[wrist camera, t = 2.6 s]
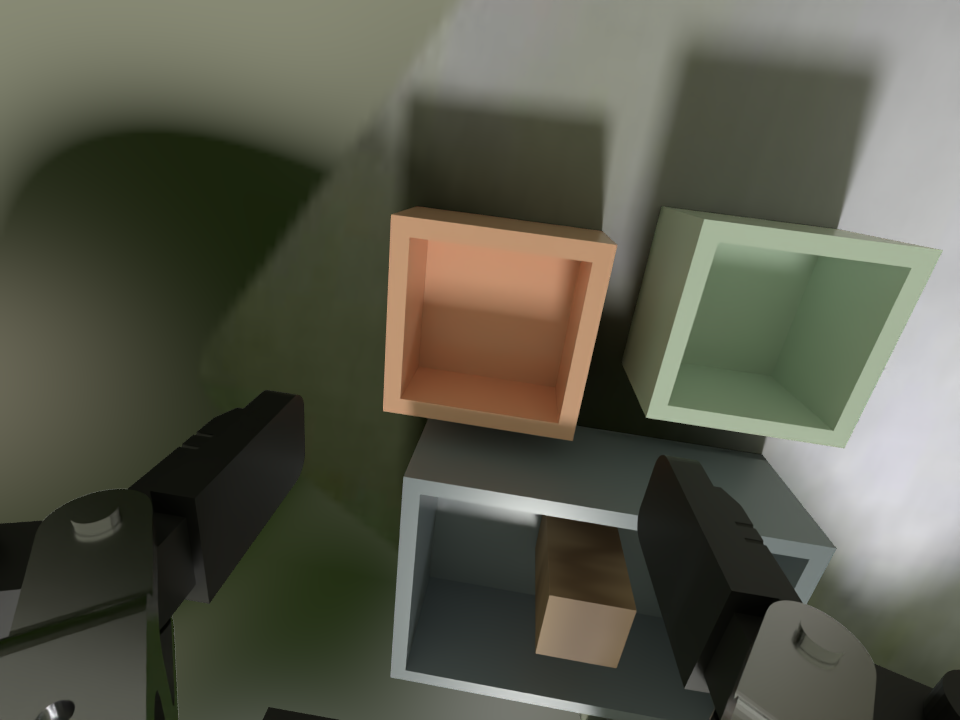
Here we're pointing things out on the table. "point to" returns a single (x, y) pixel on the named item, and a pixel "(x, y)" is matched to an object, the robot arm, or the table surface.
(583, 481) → the slate bin
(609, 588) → the walnut block
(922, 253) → the pale green open box
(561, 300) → the peach square tray
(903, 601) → the table surface
